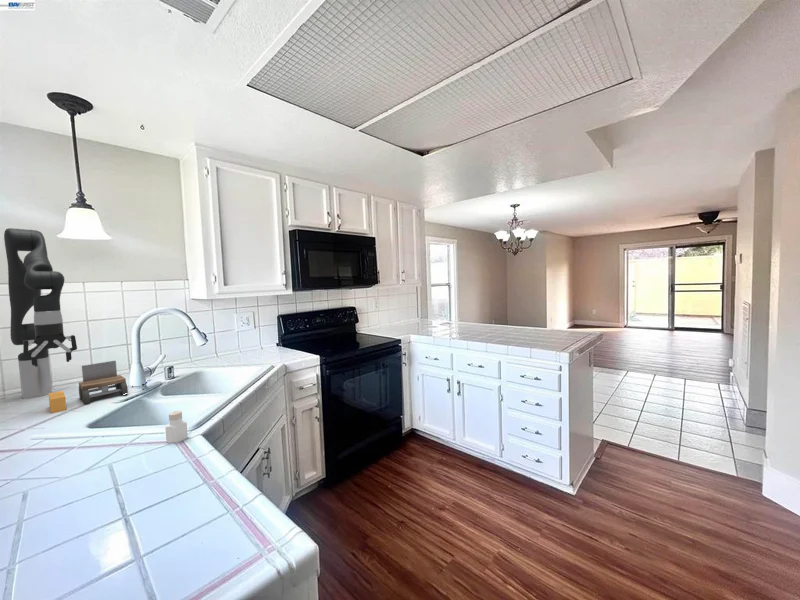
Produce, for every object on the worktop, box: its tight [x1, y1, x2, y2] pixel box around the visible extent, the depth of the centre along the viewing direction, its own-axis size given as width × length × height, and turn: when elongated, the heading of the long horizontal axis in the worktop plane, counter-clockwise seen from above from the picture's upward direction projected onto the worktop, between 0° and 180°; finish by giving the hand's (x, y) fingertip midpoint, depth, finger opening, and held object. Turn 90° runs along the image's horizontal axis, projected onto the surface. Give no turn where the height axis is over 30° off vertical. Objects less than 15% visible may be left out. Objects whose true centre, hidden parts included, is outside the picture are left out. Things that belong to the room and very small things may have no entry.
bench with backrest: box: [78, 360, 129, 405], centre depth 141 cm, size 16×14×14 cm
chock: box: [48, 390, 67, 414], centre depth 129 cm, size 4×12×6 cm, turn 49°
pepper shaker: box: [164, 410, 189, 444], centre depth 95 cm, size 4×4×10 cm
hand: (52, 363), depth 127 cm, fingers open, 8 cm apart
